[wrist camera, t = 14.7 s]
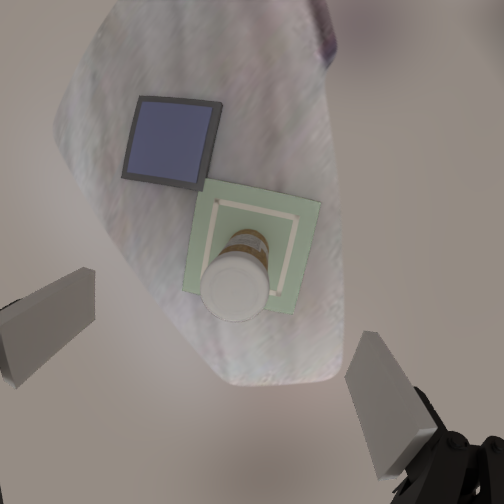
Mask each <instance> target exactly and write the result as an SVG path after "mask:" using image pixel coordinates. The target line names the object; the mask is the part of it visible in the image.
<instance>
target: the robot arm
mask: <svg viewBox="0 0 504 504" xmlns="http://www.w3.org/2000/svg"><path fill="white" fill-rule="evenodd" d="M94 320H95V271H94V270H91V269H88V268H85V267H83V268H80V269H78V270H76V271H74V272H72V273H71V274H68V275H67V276H64V277H62V278H61V279H59V280H57V281H55V282H53V283H51V284H49V285H47V286H45V287H43V288H41V289H40V290H38V291H36V292H34V293H32V294H30V295H28V296H26V297H25V298H22V299H19V300H16V301H14V302H12V303H10V304H9V306H8V305H7V306H5V307H3V308H2V309H0V370H1V373H2V377H3V380H4V381H5V382H6V383H8V384H9V385H11V386H12V387H14V388H15V389H17V388H18V387H19V386H20V385H21V384H23V383H24V382H25V381H26V380H27V379H28V378H29V377H30V376H31V375H32V374H33V373H34V372H36V371H37V370H38V369H39V368H40V367H41V366H42V365H43V364H45V363H46V362H47V361H48V360H49V359H50V358H51V357H52V356H54V355H55V354H56V353H57V352H58V351H59V350H60V349H62V348H63V347H64V346H65V345H66V344H67V343H68V342H70V341H71V340H72V339H73V338H74V337H75V336H77V335H78V334H79V333H80V332H81V331H82V330H83V329H85V328H86V327H87V326H88V325H89V324H90V323H92V322H93V321H94ZM345 379H346V383H347V385H348V388H349V391H350V394H351V397H352V400H353V403H354V406H355V409H356V412H357V415H358V418H359V421H360V424H361V427H362V430H363V433H364V436H365V439H366V442H367V446H368V449H369V452H370V455H371V458H372V462H373V465H374V468H375V471H376V475H377V478H378V480H379V481H380V480H389V479H396V478H397V477H398V476H399V475H400V474H401V473H402V472H403V470H404V469H405V470H406V473H407V475H408V476H407V477H406V478H405V479H404V480H403V482H402V483H401V484H400V485H399V486H398V487H397V488H396V489H395V490H394V491H393V492H392V493H395V492H396V491H397V490H398V491H397V493H396V495H395V496H394V498H393V500H392V502H391V503H390V504H504V440H503V439H502V438H500V437H497V436H489V437H488V438H486V440H485V441H484V442H483V444H482V445H481V446H479V445H470V444H469V442H468V440H467V439H466V438H465V437H464V436H463V435H462V434H460V433H458V432H454V431H448V430H447V429H446V427H445V425H444V424H443V422H442V421H441V419H440V417H439V416H438V414H437V413H436V411H435V410H434V408H433V406H432V404H430V401H429V400H428V398H427V397H426V395H425V394H424V393H423V392H422V391H421V390H420V389H419V388H417V387H413V386H412V384H411V383H410V381H409V380H408V378H407V377H406V375H405V373H404V372H403V370H402V369H401V367H400V365H399V364H398V362H397V361H396V360H395V358H394V357H393V355H392V354H391V352H390V350H389V349H388V347H387V346H386V344H385V343H384V341H383V340H382V338H381V337H380V335H379V334H378V333H377V332H370V331H364V332H363V334H362V337H361V339H360V342H359V345H358V347H357V349H356V352H355V354H354V356H353V359H352V361H351V363H350V366H349V368H348V370H347V373H346V375H345ZM479 486H480V492H479V493H478V494H477V495H476V489H477V488H478V487H479ZM0 504H3V499H2V493H1V488H0Z"/></svg>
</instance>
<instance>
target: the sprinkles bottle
mask: <svg viewBox="0 0 504 504" xmlns="http://www.w3.org/2000/svg"><path fill="white" fill-rule="evenodd" d="M268 254H269V246H268V242H267V240H266V239H265V237H264V236H263V235H262V234H261V233H259V232H258V231H256V230H252V229H243V230H239V231H238V232H236V233H235V234H234V235H233V236H232V237H231V238H230V240H229V242H228V243H227V244H226V245H225V247H224V248H223V249H222V250H221V252H220V253H219V254H218V256H217V257H216V258H215V259H214V260H213V261H212V262H211V263H210V264H209V265H208V267H207V268H206V270H205V271H204V273H203V275H202V278H201V281H200V294H201V298H202V301H203V303H204V305H205V306H206V308H207V309H208V310H209V311H210V312H211V313H212V314H213V315H215V316H216V317H218V318H220V319H222V320H225V321H229V322H243V321H247V320H249V319H251V318H253V317H255V316H256V315H258V314H259V313H260V312H261V311H262V310H263V308H264V307H265V305H266V303H267V301H268V297H269V289H270V283H269V276H268V273H267V272H268Z"/></svg>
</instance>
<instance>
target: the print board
mask: <svg viewBox="0 0 504 504" xmlns="http://www.w3.org/2000/svg"><path fill="white" fill-rule="evenodd" d="M320 206H321V202H317V201H313V200H309V199H305V198H301V197H296V196H292V195H287V194H283V193H279V192H274V191H269V190H265V189H260V188H255V187H250V186H245V185H240V184H235V183H230V182H225V181H219V180H214V179H208V178H205V183H204V188H203V192H201V191H198V195H197V200H196V206H195V211H194V217H193V223H192V229H191V235H190V241H189V247H188V253H187V260H186V267H185V273H184V280H183V288H182V291H185V292H189V293H194V294H198V295H201V294H200V281H201V278H202V275H203V273H204V271H205V270H206V268H207V267H208V265H209V264H210V263H211V262H212V261H213V260H214V259H215V258H216V257H217V256H218V254H219V253H220V252H221V250H222V249H223V248H224V247H225V245H226V244H227V243H228V242H229V240H230V238H231V237H232V236H233V235H234V234H235V233H236V232H238V231H239V230H243V229H252V230H256V231H258V232H259V233H261V234H262V235H263V236H264V237H265V239H266V240H267V242H268V246H269V254H268V272H267V273H268V276H269V283H270V289H269V297H268V301H267V303H266V305H265V307H264V308H263V309H265V310H270V311H275V312H280V313H285V314H291V315H293V312H294V308H295V305H296V301H297V297H298V294H299V290H300V286H301V283H302V279H303V275H304V271H305V267H306V264H307V260H308V256H309V252H310V248H311V244H312V240H313V235H314V231H315V227H316V223H317V219H318V214H319V210H320Z"/></svg>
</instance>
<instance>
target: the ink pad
mask: <svg viewBox="0 0 504 504" xmlns="http://www.w3.org/2000/svg"><path fill="white" fill-rule="evenodd" d="M222 108H223V104H222V103H221V102H214V101H205V100H196V99H186V98H173V97H158V96H139V99H138V102H137V106H136V110H135V114H134V118H133V122H132V126H131V131H130V135H129V140H128V144H127V149H126V154H125V159H124V165H123V170H122V176H121V178H123V179H130V180H136V181H143V182H149V183H155V184H161V185H167V186H173V187H179V188H185V189H190V190H196V191H201V192H203V188H204V183H205V178H207V176H208V171H209V166H210V161H211V156H212V152H213V147H214V143H215V138H216V134H217V129H218V125H219V120H220V116H221V112H222Z"/></svg>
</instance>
